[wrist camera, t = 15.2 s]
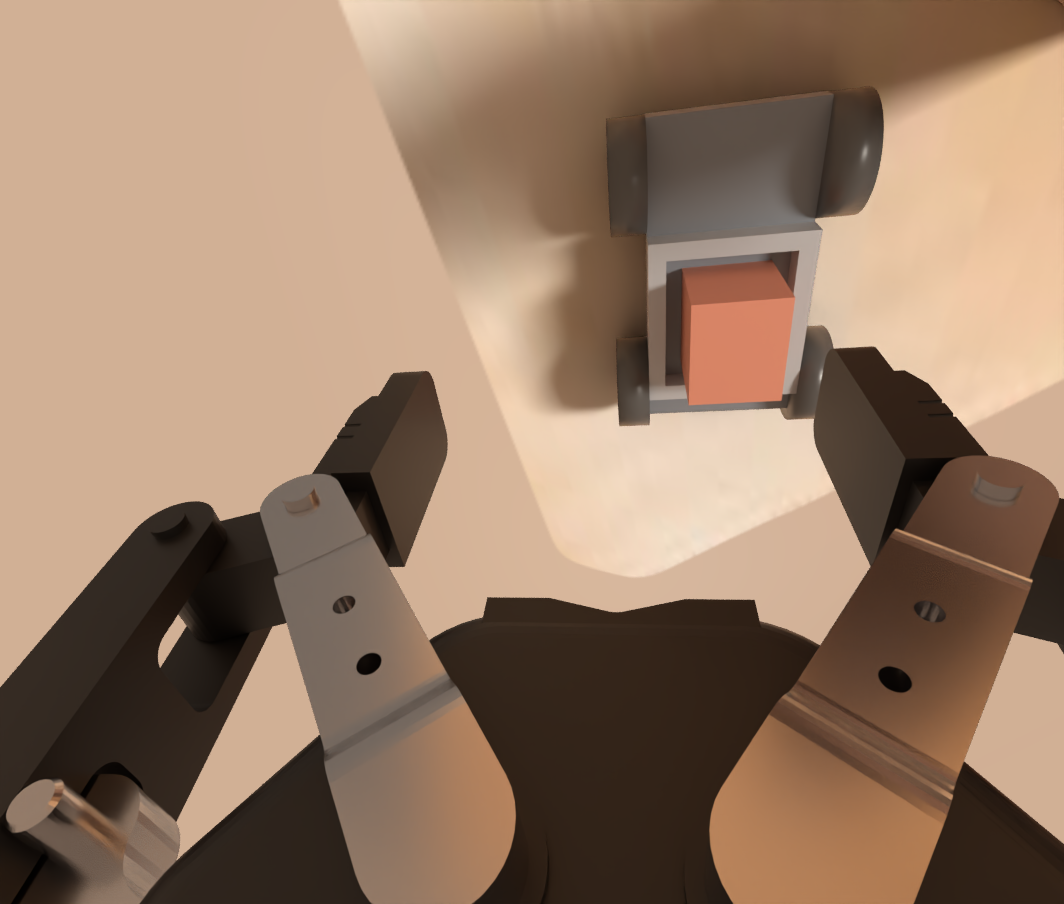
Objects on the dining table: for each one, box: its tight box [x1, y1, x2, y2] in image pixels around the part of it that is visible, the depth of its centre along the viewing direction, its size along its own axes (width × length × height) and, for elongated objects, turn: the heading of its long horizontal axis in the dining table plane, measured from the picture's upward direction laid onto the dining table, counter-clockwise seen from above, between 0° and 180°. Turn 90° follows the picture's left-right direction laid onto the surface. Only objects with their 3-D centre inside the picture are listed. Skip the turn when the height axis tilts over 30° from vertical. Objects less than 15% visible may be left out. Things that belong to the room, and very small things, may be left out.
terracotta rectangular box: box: [680, 260, 795, 405], centre depth 34 cm, size 5×6×6 cm
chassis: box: [606, 86, 884, 426], centre depth 36 cm, size 13×19×6 cm
